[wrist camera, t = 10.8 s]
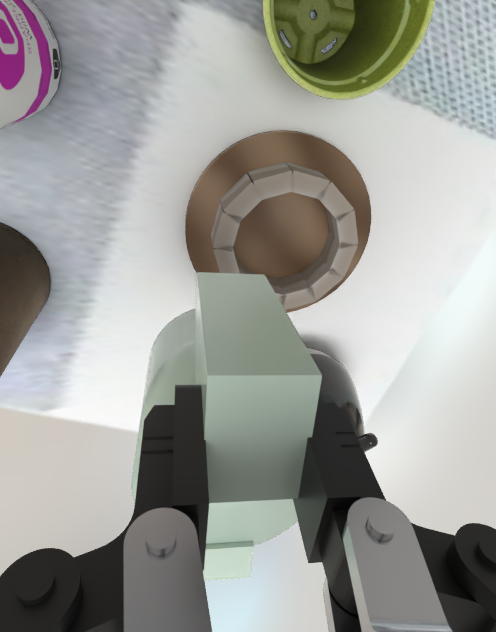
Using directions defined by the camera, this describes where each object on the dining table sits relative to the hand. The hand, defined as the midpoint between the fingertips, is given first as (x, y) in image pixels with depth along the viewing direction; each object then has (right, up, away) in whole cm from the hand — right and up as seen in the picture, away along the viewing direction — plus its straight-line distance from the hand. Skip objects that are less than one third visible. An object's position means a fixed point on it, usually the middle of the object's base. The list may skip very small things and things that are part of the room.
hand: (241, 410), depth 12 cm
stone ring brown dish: (+3, +10, +26) cm, 28 cm away
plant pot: (+5, +24, +19) cm, 30 cm away
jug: (-2, 0, +10) cm, 10 cm away
